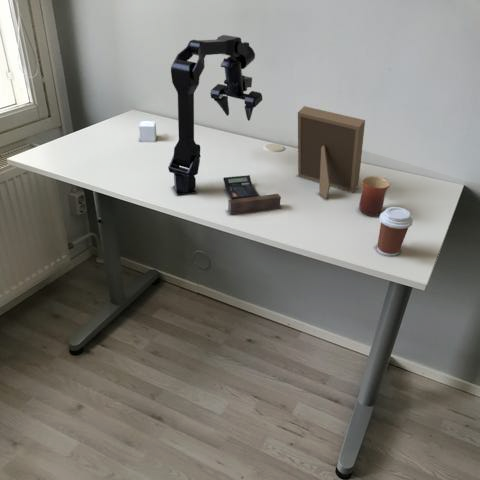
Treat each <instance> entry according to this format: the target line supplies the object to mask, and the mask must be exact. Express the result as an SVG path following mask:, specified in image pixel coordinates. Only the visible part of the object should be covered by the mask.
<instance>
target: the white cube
mask: <svg viewBox="0 0 480 480" xmlns="http://www.w3.org/2000/svg"><path fill="white" fill-rule="evenodd" d="M156 123H157V122H156V121H148V120H147V121H144V120H143V121H140V123H139V125H138V129H139V138H140V142H156V140H157V136H158V135H157V124H156Z"/></svg>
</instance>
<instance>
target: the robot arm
mask: <svg viewBox="0 0 480 480" xmlns="http://www.w3.org/2000/svg"><path fill="white" fill-rule="evenodd" d="M187 43H188V44H187V45H186V47H185V48H183V49H182V50H181V51H179V53H177V54H176V56H175V58H174V61H173V62H172V64H171V66H170V76H171V83H172V85H173V87H174V89H175V91H176V93H177V119H178V120H177V123H178V124H177V125H178V127H177V128H178V129H177V130H178V141H177V143H176V144H175V146H174V148H173V155H172V158H171V159H170V162H169V163H168V164H169V165H168V167H167V169H168V172H169V173H172V174H173V182H174V183H173V186H172V187H173V190H174V192H175V193H176V195H177V196H180V195H181V196H183V195H190V194H191V195H192V194H196V193H197V192H196V189H197V184H196V183H197V181H196V176H197V175H198V174H199V168H200V163H201V157H202V156H201V145H200V144H199V143H198V144H197V143H196V141H195V92H196V90H197V88H198V87H199V85H200V79H201V78H200V77H201V75H202V73H203V71H204V70H205V68H206V67H205V58H206V56H211V55H223V56H228V57H225V58H223V60H222V61H221V63H220V67H221V68H224V73H225V74H224V75H225V79H224V80H223V84H221V83H217V84H216V85H215V86H214V87H213V88H212V89H211V90H210V93H209V94H210V99H213V101H214V102H216V104H217V105H219V107H220V108H221V109H222V111H223V112H224V114H225V115H226V117H228V116H229V115H230V106H229V100H228V99H229V98H231V99H232V98H233V99H238V100H243V101H244V106H243V107H244V111H245V117H246V120H247V121H248V122H249V121H251V119H252V115H253V110H254V108H256V107H257V106H258V105H259V104H260V103H261V102H262V101H263V93H261V92H259V91H254V90H251V91H250V92H249V93H245V92H247V91H248V88H252V85H253V77H252V76H246V75H244V74H243V71H242V70H244V69H246V68H247V67H248V66H249V65H251V64H252V63H253V62H254V60H255V59H256V53H255V51H254V49H253V48H252V47H251V46H250V42H247V41H242V38H241V37H239V36H234V35H226V34H222V35H219V36H218V37H217V38H216V39H201V40H199V39H191V40H189V42H187ZM193 56H198V59H197V61H196V62H195V61H191V60H190V59H192V58H193ZM189 60H190V61H189Z"/></svg>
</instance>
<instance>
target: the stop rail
mask: <svg viewBox="0 0 480 480" xmlns="http://www.w3.org/2000/svg"><path fill="white" fill-rule="evenodd" d="M281 199H282V196H280V194H279V193H273V194H264V195H259V196H256V197H248V198H240V199H232V200H231V199H227V201H228V203H227V212H228V213H229V215H230V216H232V215H238V214H239V215H240V214H247V213H254V212H262V211H269V210H277V209H280V208H281Z"/></svg>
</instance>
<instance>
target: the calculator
mask: <svg viewBox="0 0 480 480" xmlns="http://www.w3.org/2000/svg"><path fill="white" fill-rule="evenodd" d="M222 179H223V183H224V186H225V190H226V192H227V194H228V196H229V198H230V200H232V199H240V198H248V197H256V196H260V195H259V193H258V192H257V190H256V189H255V188H254V186H253V183H252V179H251V176H250V174H249V175H237V176H236V175H235V176H227V177H223V178H222Z"/></svg>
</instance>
